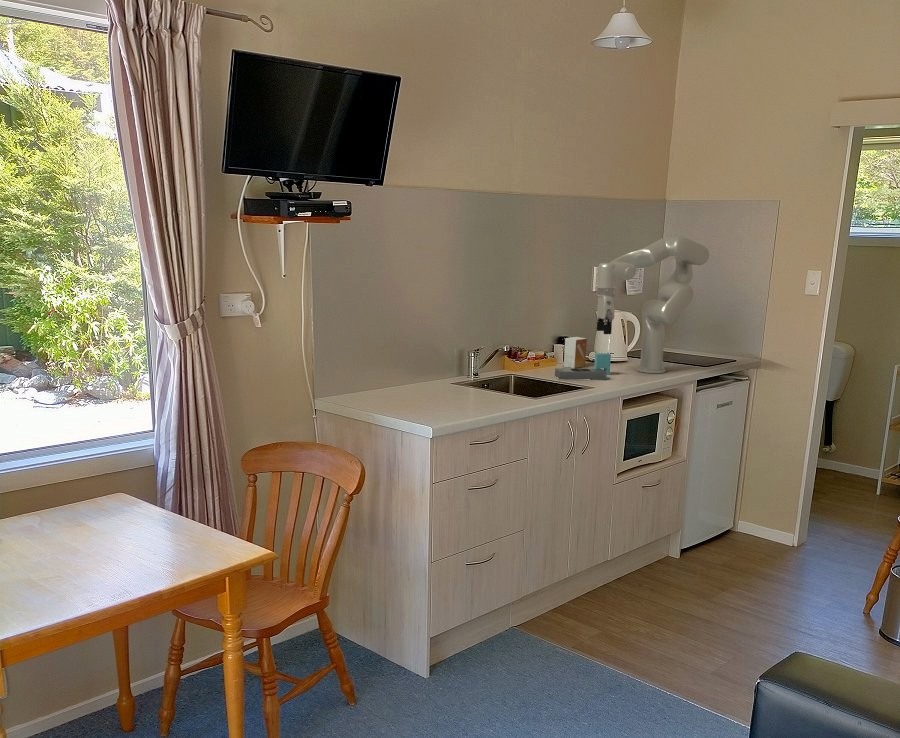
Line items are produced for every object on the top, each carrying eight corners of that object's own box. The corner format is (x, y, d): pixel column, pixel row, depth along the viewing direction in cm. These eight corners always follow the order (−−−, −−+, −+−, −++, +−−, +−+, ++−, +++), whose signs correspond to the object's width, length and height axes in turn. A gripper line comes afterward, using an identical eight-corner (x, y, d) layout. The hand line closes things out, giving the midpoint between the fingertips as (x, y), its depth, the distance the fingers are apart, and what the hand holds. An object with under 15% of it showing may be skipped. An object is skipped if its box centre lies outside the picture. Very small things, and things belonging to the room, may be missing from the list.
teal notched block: (607, 373, 348) (608, 353, 347) (609, 375, 346) (610, 354, 344) (593, 373, 348) (595, 353, 346) (595, 375, 345) (597, 354, 343)
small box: (574, 368, 358) (576, 339, 356) (563, 366, 363) (564, 337, 360) (585, 366, 364) (587, 338, 361) (574, 364, 368) (575, 336, 366)
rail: (600, 376, 341) (601, 368, 341) (605, 380, 335) (606, 371, 334) (554, 376, 339) (555, 368, 338) (558, 379, 332) (559, 371, 331)
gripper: (621, 294, 332) (618, 335, 335) (608, 290, 349) (606, 329, 352) (603, 294, 331) (601, 335, 334) (591, 290, 348) (589, 329, 351)
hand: (603, 332), depth 343 cm, fingers open, 9 cm apart
